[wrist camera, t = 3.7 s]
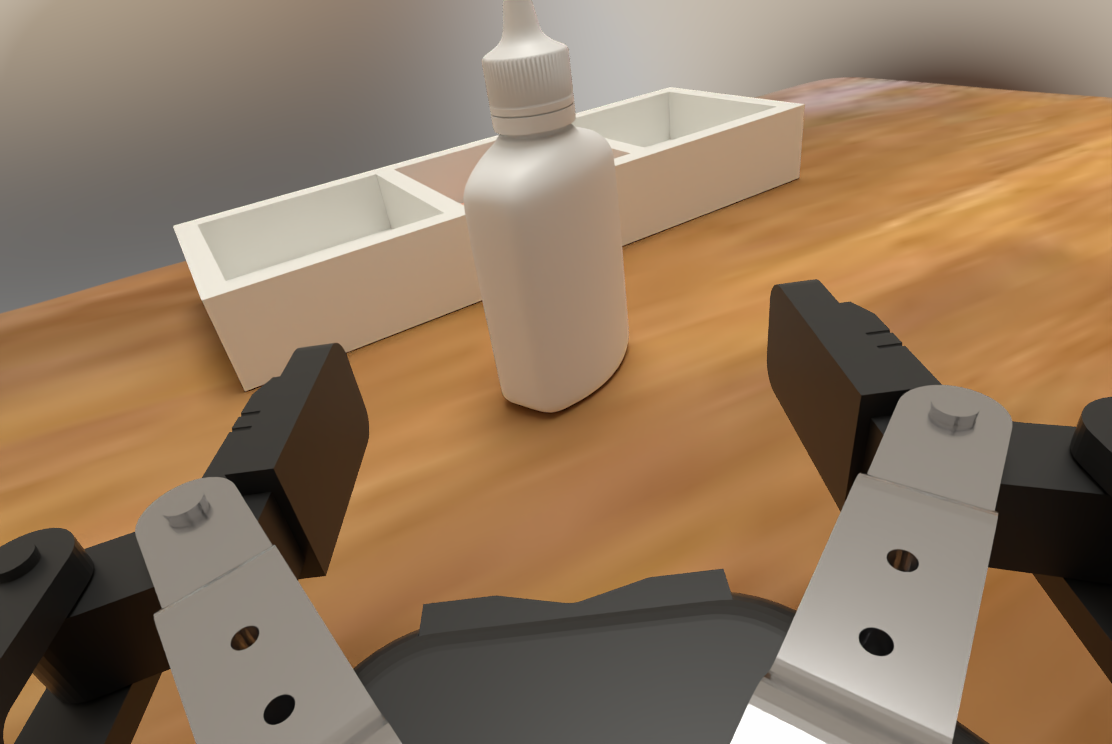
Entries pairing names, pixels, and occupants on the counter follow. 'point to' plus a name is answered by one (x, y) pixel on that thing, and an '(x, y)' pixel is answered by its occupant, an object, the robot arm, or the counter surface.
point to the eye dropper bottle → (545, 227)
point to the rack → (455, 225)
